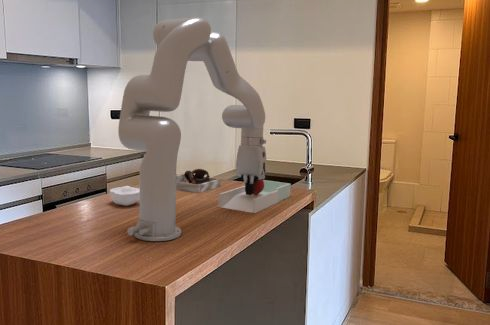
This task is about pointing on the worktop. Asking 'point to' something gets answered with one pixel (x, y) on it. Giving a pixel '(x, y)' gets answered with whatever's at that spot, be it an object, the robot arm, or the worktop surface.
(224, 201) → the white piece
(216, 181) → the mug stand
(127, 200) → the cell model
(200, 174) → the pottery mug
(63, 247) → the worktop surface
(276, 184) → the tray
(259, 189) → the red round fruit
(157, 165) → the robot arm
